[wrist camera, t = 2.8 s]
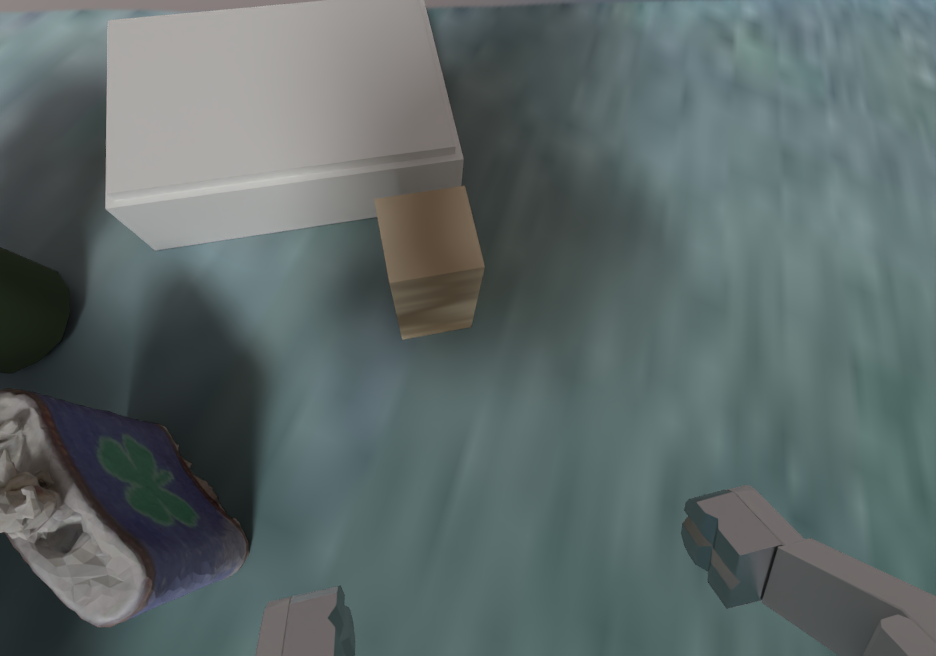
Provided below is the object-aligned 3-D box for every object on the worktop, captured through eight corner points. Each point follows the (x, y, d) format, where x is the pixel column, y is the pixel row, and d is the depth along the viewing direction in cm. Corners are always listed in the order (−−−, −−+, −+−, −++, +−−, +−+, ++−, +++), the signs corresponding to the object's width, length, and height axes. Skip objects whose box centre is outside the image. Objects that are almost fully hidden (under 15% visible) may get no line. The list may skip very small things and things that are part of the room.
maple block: (402, 339, 27) (389, 283, 19) (390, 275, 28) (374, 199, 21) (471, 326, 28) (485, 267, 20) (456, 264, 29) (464, 185, 21)
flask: (262, 550, 23) (126, 602, 13) (209, 597, 22) (22, 690, 12) (156, 409, 25) (-36, 358, 15) (104, 448, 24) (-135, 422, 14)
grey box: (155, 250, 28) (97, 202, 23) (151, 87, 31) (100, 15, 26) (459, 204, 30) (464, 151, 25) (424, 57, 33) (422, -14, 29)
